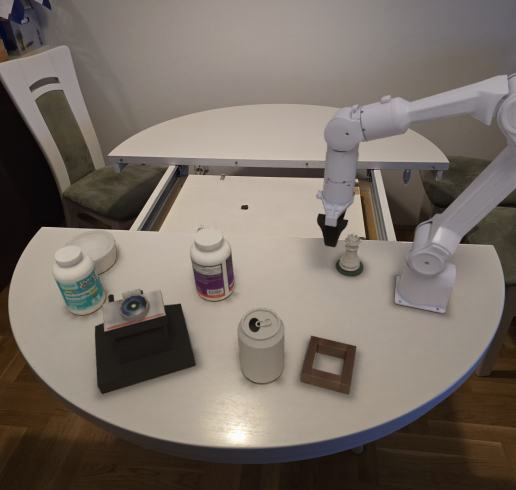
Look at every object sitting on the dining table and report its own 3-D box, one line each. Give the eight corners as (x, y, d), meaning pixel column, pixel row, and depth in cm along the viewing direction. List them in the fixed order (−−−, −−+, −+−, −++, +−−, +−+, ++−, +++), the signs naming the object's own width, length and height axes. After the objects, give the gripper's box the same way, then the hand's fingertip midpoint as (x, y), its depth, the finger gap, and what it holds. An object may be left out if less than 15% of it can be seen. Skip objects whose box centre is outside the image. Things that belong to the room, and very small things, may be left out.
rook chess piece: (359, 273, 87) (364, 245, 82) (338, 271, 88) (342, 243, 83) (359, 260, 90) (364, 231, 85) (339, 257, 91) (342, 229, 86)
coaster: (364, 260, 91) (364, 259, 90) (361, 278, 86) (361, 277, 86) (337, 255, 92) (338, 254, 92) (333, 273, 88) (333, 272, 88)
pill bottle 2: (218, 270, 90) (211, 217, 81) (242, 288, 85) (238, 235, 76) (189, 289, 85) (178, 236, 76) (213, 309, 81) (205, 255, 72)
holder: (354, 354, 72) (356, 345, 70) (348, 394, 66) (350, 386, 64) (310, 343, 74) (311, 335, 72) (300, 382, 68) (301, 373, 66)
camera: (77, 351, 58) (76, 276, 68) (103, 396, 68) (99, 324, 78) (186, 321, 61) (169, 254, 72) (196, 368, 71) (180, 303, 82)
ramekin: (92, 286, 87) (85, 268, 84) (59, 268, 92) (51, 251, 88) (130, 256, 94) (125, 239, 91) (98, 241, 99) (92, 224, 96)
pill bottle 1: (71, 322, 79) (47, 272, 71) (66, 297, 84) (43, 248, 76) (109, 308, 82) (91, 258, 73) (103, 285, 87) (84, 236, 79)
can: (240, 350, 73) (235, 305, 66) (281, 346, 73) (281, 301, 66) (242, 388, 67) (237, 343, 60) (286, 383, 67) (288, 339, 60)
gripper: (325, 155, 80) (320, 211, 88) (310, 193, 69) (306, 252, 78) (361, 159, 78) (353, 216, 87) (351, 198, 67) (343, 259, 76)
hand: (333, 233), depth 82 cm, fingers open, 7 cm apart
